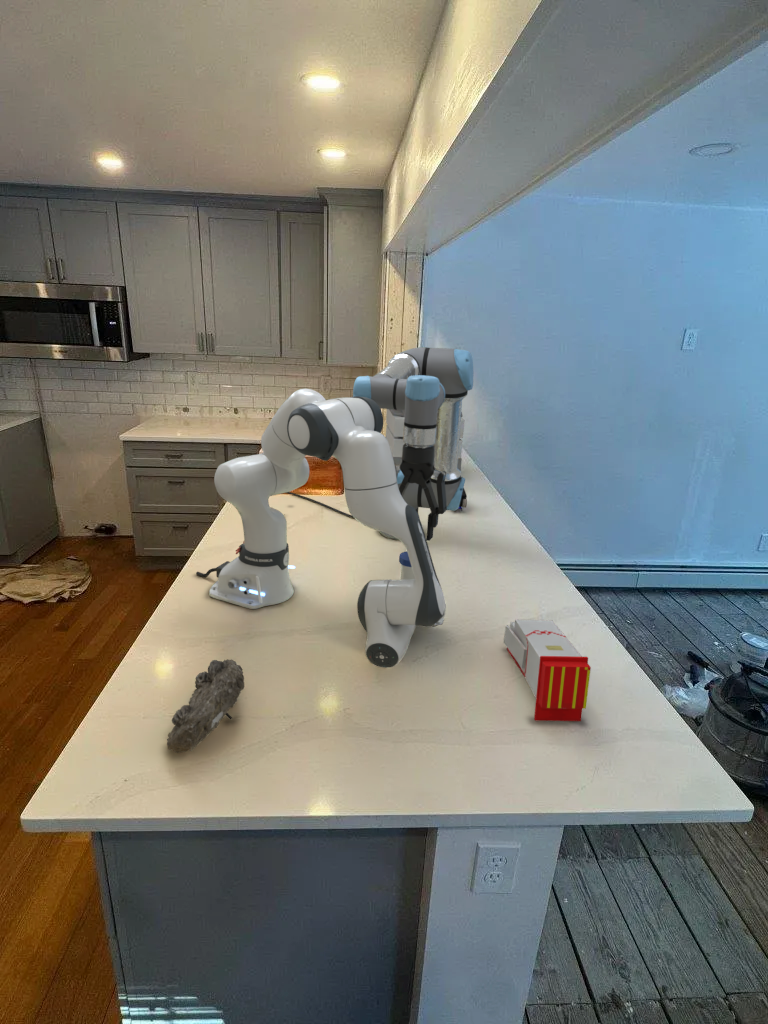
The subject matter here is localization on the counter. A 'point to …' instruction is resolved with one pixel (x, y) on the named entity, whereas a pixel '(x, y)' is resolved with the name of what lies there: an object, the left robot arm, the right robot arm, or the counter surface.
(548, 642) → the toy
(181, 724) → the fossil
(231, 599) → the left robot arm
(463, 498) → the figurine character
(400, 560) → the lid
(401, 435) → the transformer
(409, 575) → the jar
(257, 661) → the counter surface
